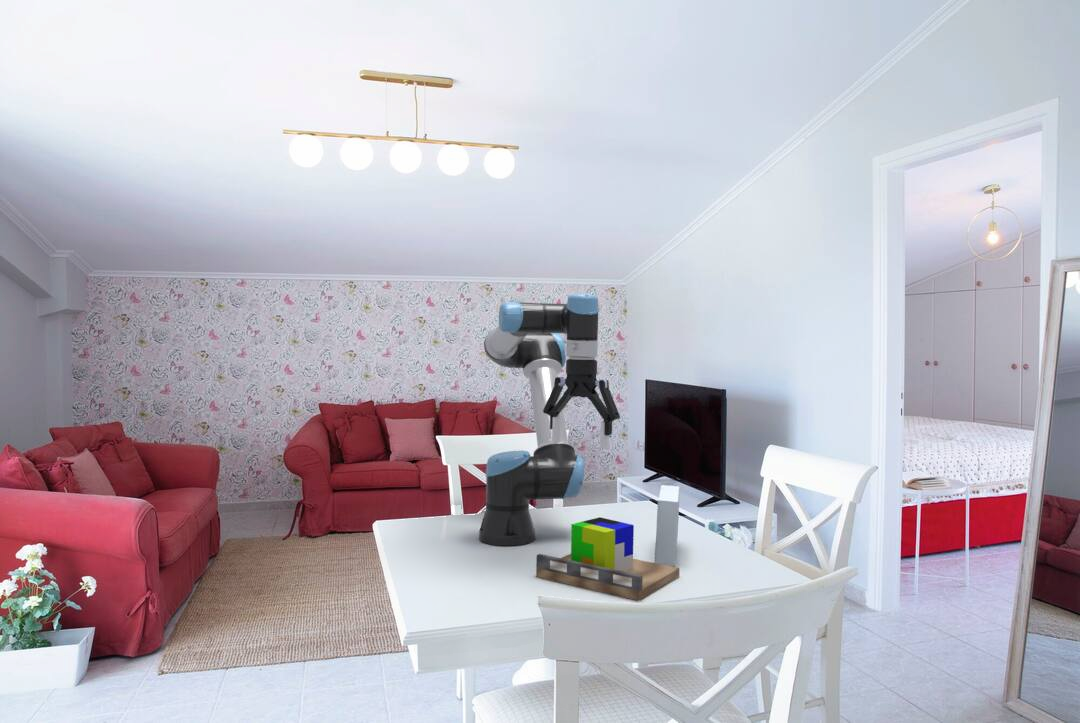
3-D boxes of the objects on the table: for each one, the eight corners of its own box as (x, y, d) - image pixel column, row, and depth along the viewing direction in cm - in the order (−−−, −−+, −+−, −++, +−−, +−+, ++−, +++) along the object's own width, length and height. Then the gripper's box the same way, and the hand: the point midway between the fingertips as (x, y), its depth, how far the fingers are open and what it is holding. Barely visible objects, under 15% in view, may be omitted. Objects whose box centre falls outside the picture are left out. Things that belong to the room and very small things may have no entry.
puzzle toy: (632, 568, 167) (633, 524, 167) (604, 578, 160) (605, 532, 160) (599, 559, 174) (599, 517, 174) (570, 567, 167) (571, 524, 167)
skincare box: (677, 567, 176) (678, 501, 175) (654, 566, 177) (655, 500, 176) (678, 544, 196) (679, 485, 196) (657, 543, 197) (659, 484, 197)
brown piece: (535, 577, 167) (536, 555, 166) (582, 556, 183) (582, 536, 183) (639, 601, 152) (639, 577, 152) (679, 576, 168) (679, 554, 168)
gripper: (530, 356, 182) (528, 442, 182) (620, 360, 167) (618, 453, 168) (547, 356, 188) (545, 439, 189) (635, 360, 174) (633, 449, 175)
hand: (579, 446), depth 178 cm, fingers open, 13 cm apart
